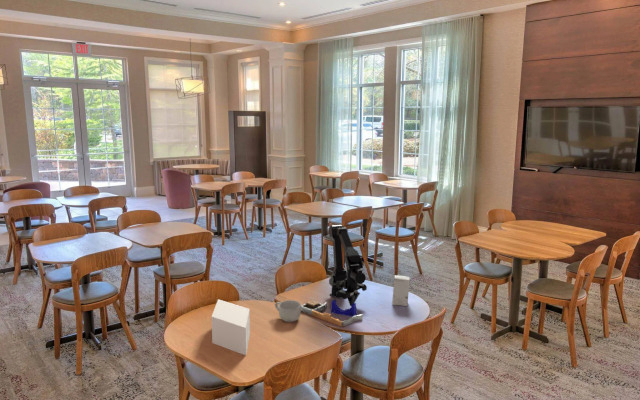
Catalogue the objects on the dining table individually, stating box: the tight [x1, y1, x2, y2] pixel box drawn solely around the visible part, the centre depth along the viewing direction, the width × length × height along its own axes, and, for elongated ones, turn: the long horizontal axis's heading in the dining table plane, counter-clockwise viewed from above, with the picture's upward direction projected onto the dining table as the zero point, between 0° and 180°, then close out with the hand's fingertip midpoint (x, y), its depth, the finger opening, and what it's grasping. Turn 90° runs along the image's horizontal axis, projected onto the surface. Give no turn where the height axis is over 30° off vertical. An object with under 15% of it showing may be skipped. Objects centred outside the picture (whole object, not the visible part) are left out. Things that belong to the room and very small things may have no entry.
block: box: [211, 299, 251, 356], centre depth 212 cm, size 18×35×12 cm, turn 30°
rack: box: [301, 300, 363, 328], centre depth 239 cm, size 14×30×4 cm, turn 48°
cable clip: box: [330, 299, 358, 317], centre depth 242 cm, size 12×4×6 cm, turn 69°
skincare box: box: [392, 274, 411, 307], centre depth 254 cm, size 8×6×15 cm
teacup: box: [274, 299, 302, 323], centre depth 234 cm, size 14×11×8 cm
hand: (351, 306), depth 248 cm, fingers closed
